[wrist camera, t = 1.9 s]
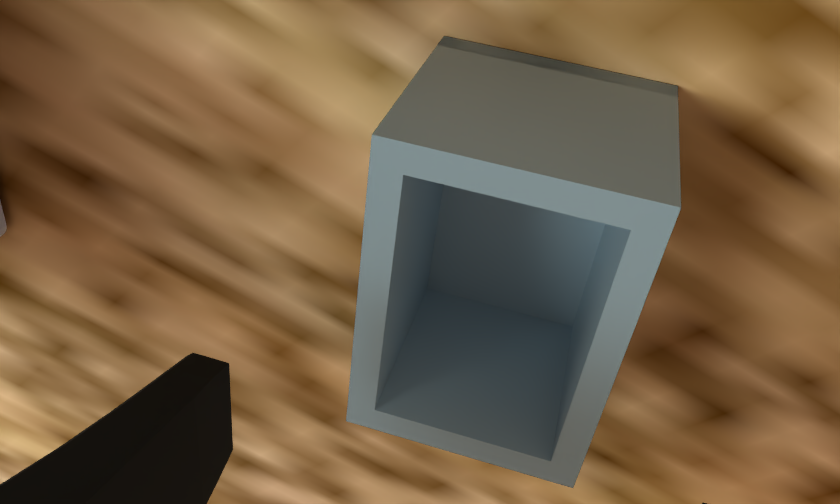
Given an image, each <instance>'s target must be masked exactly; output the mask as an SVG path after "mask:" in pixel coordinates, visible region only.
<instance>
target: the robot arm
mask: <svg viewBox="0 0 840 504" xmlns="http://www.w3.org/2000/svg"><path fill="white" fill-rule="evenodd" d="M6 230H7V226H6V221H5V217H4V213H3V209H2V205H1V201H0V237H1V236H2V235H3V234H5V232H6ZM232 450H233V442H232V420H231V397H230V375H229V363H226V362H223V361H219V360H216V359H213V358H209V357H206V356H202V355H199V354H196V353H192V354H190V355H188V356H186V357H185V358H184V359H182V360H181V361H179V362H178V363H177V364H175V365H174V366H173V367H171V368H170V369H169V370H167V371H166V372H164V373H163V374H162V375H160V376H159V377H158V378H156V379H155V380H154V381H152V382H151V383H150V384H148V385H147V386H146V387H144V388H143V389H141V390H140V391H139V392H137V393H136V394H135V395H133V396H132V397H130V398H129V399H128V400H126V401H125V402H124V403H122V404H121V405H119V406H118V407H117V408H115V409H114V410H112V411H111V412H110V413H108V414H107V415H105V416H104V417H102V418H101V419H99V420H98V421H97V422H95V423H94V424H92V425H91V426H89V427H88V428H86V429H85V430H84V431H82V432H81V433H79V434H78V435H76V436H75V437H73V438H72V439H71V440H69V441H68V442H66V443H65V444H63V445H62V446H60V447H59V448H57V449H56V450H54V451H53V452H51V453H49V454H48V455H46V456H45V457H43V458H41V459H40V460H38V461H37V462H35V463H34V464H32V465H30V466H29V467H27V468H26V469H24V470H22V471H21V472H19V473H18V474H16V475H15V476H13V477H11V478H10V479H8V480H7V481H5V482H3V483H2V484H0V504H207V502H208V500H209V498H210V496H211V494H212V492H213V490H214V488H215V486H216V484H217V482H218V480H219V478H220V476H221V473H222V471H223V469H224V467H225V465H226V463H227V461H228V459H229V457H230V454H231V452H232ZM702 504H707V503H702Z"/></svg>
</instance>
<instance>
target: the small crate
mask: <svg viewBox="0 0 840 504" xmlns="http://www.w3.org/2000/svg"><path fill="white" fill-rule="evenodd" d="M680 209H681V184H680V148H679V112H678V86H676V85H671V84H666V83H662V82H657V81H652V80H648V79H643V78H638V77H634V76H629V75H624V74H620V73H615V72H610V71H606V70H601V69H596V68H592V67H587V66H582V65H578V64H573V63H568V62H564V61H559V60H554V59H550V58H545V57H540V56H536V55H531V54H526V53H522V52H517V51H512V50H508V49H503V48H498V47H494V46H489V45H484V44H480V43H475V42H470V41H465V40H461V39H456V38H451V37H447V36H444V37H443V38H442V39H441V41H440V42H439V44H438V45H437V46H436V48H435V49H434V50H433V52H432V53H431V54H430V56H429V57H428V59H427V60H426V61H425V63H424V64H423V65H422V67H421V68H420V69H419V71H418V72H417V74H416V75H415V76H414V78H413V79H412V80H411V82H410V83H409V85H408V86H407V87H406V89H405V90H404V91H403V93H402V94H401V95H400V97H399V98H398V100H397V101H396V102H395V104H394V105H393V106H392V108H391V109H390V110H389V112H388V113H387V115H386V116H385V117H384V119H383V120H382V121H381V123H380V124H379V125H378V127H377V128H376V130H375V131H374V132H373V134H372V139H371V150H370V161H369V172H368V184H367V195H366V206H365V217H364V228H363V239H362V250H361V261H360V273H359V284H358V295H357V306H356V317H355V328H354V339H353V350H352V362H351V373H350V384H349V395H348V406H347V417H346V421H348V422H351V423H355V424H358V425H361V426H365V427H368V428H371V429H375V430H378V431H382V432H385V433H388V434H392V435H395V436H399V437H402V438H405V439H409V440H412V441H415V442H419V443H422V444H426V445H429V446H432V447H436V448H439V449H442V450H446V451H449V452H453V453H456V454H459V455H463V456H466V457H470V458H473V459H476V460H480V461H483V462H486V463H490V464H493V465H497V466H500V467H503V468H507V469H510V470H514V471H517V472H520V473H524V474H527V475H530V476H534V477H537V478H541V479H544V480H547V481H551V482H554V483H558V484H561V485H564V486H568V487H571V488H573V487H574V484H575V482H576V479H577V477H578V474H579V471H580V469H581V466H582V464H583V461H584V458H585V456H586V453H587V451H588V448H589V445H590V443H591V440H592V438H593V435H594V433H595V430H596V427H597V425H598V422H599V420H600V417H601V414H602V412H603V409H604V407H605V404H606V401H607V399H608V396H609V394H610V391H611V388H612V386H613V383H614V381H615V378H616V375H617V373H618V370H619V368H620V365H621V362H622V360H623V357H624V355H625V352H626V350H627V347H628V344H629V342H630V339H631V337H632V334H633V331H634V329H635V326H636V324H637V321H638V318H639V316H640V313H641V311H642V308H643V305H644V303H645V300H646V298H647V295H648V292H649V290H650V287H651V285H652V282H653V279H654V277H655V274H656V272H657V269H658V267H659V264H660V261H661V259H662V256H663V254H664V251H665V248H666V246H667V243H668V241H669V238H670V235H671V233H672V230H673V228H674V225H675V222H676V220H677V217H678V215H679V212H680Z"/></svg>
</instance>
